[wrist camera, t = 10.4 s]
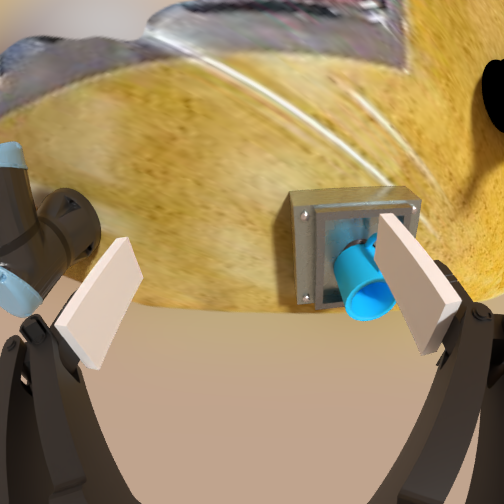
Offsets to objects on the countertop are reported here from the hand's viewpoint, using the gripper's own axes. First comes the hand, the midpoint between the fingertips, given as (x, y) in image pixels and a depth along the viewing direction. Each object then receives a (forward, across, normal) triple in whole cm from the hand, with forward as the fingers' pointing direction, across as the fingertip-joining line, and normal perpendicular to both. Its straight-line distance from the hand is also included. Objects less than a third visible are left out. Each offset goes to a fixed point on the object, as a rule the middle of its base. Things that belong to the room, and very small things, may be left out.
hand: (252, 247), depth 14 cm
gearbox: (+29, +16, -17) cm, 37 cm away
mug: (+23, +14, -17) cm, 32 cm away
